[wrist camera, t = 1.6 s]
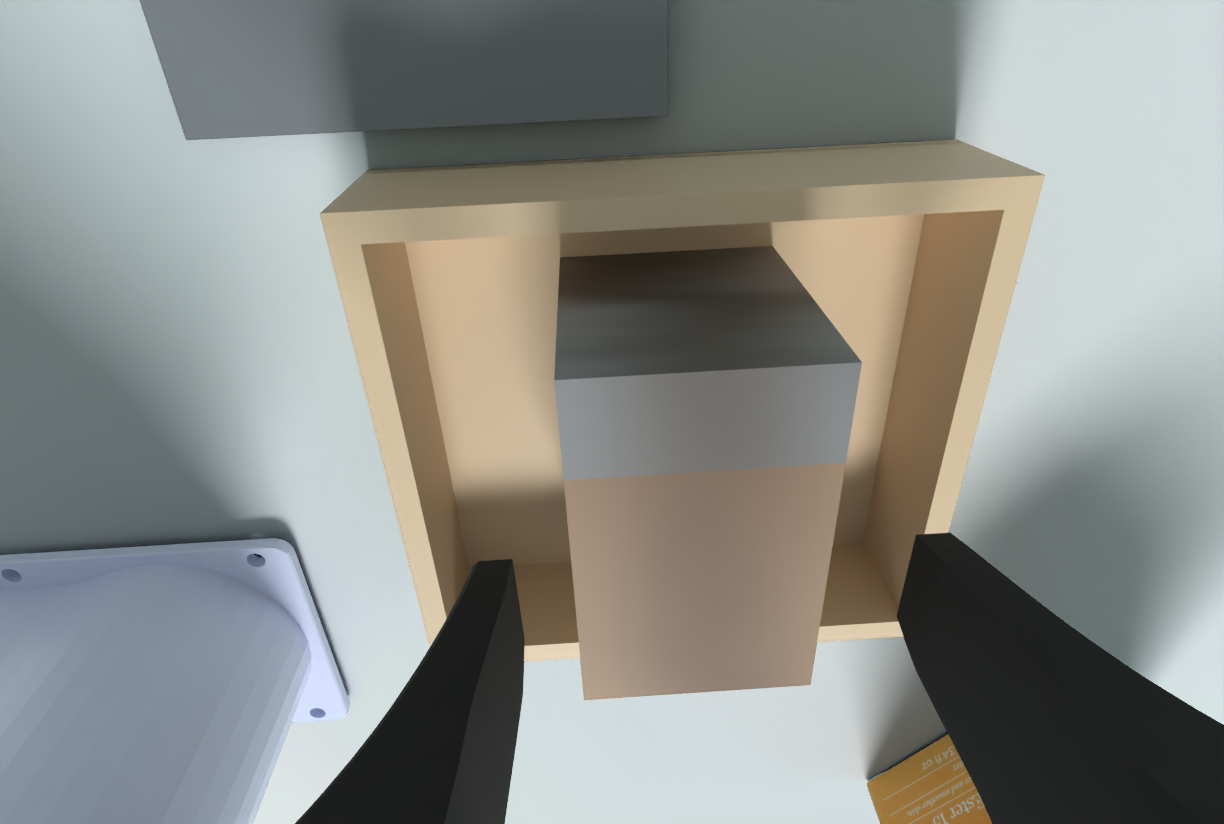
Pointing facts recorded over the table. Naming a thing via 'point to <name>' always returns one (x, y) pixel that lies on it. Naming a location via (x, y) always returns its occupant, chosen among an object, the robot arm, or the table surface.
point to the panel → (406, 63)
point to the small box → (928, 790)
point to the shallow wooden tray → (661, 222)
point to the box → (698, 467)
